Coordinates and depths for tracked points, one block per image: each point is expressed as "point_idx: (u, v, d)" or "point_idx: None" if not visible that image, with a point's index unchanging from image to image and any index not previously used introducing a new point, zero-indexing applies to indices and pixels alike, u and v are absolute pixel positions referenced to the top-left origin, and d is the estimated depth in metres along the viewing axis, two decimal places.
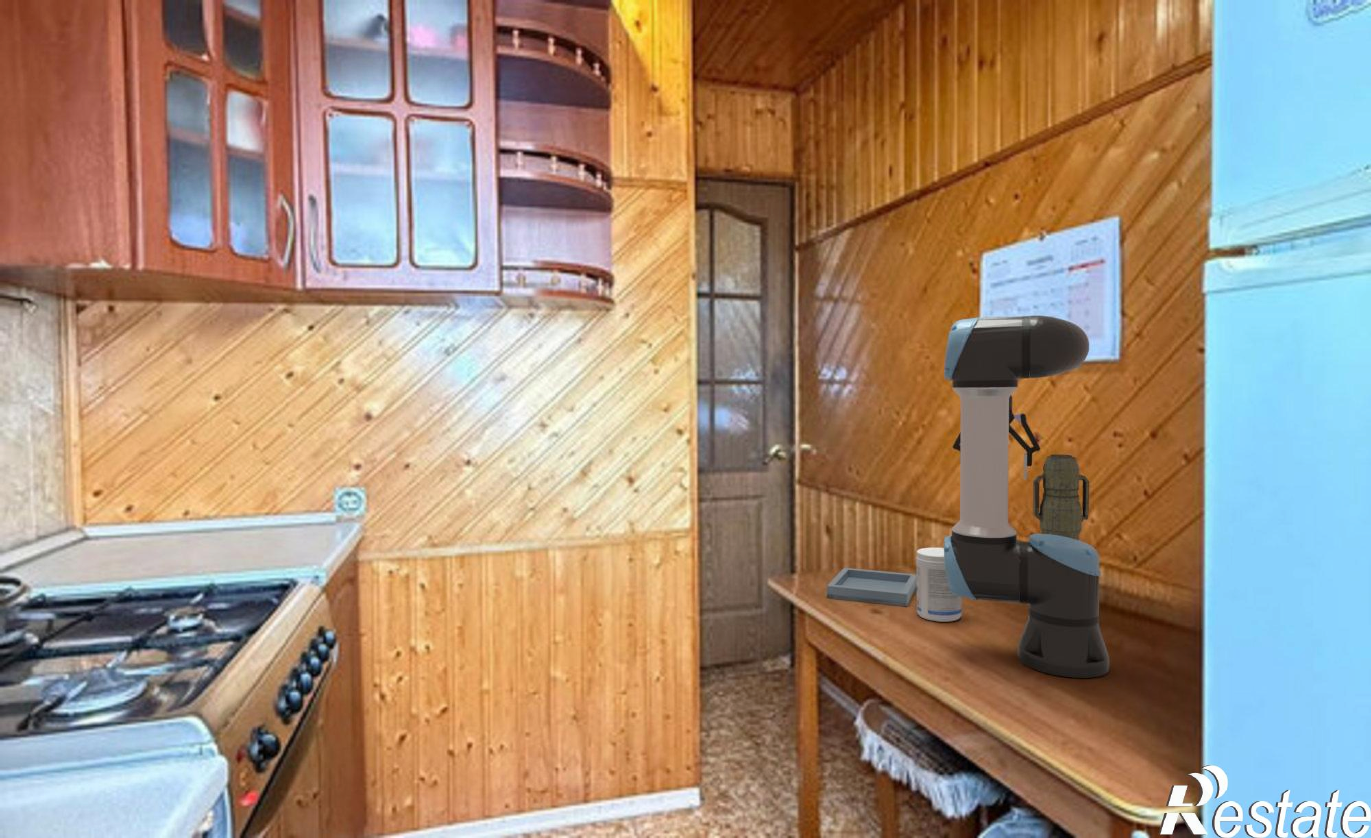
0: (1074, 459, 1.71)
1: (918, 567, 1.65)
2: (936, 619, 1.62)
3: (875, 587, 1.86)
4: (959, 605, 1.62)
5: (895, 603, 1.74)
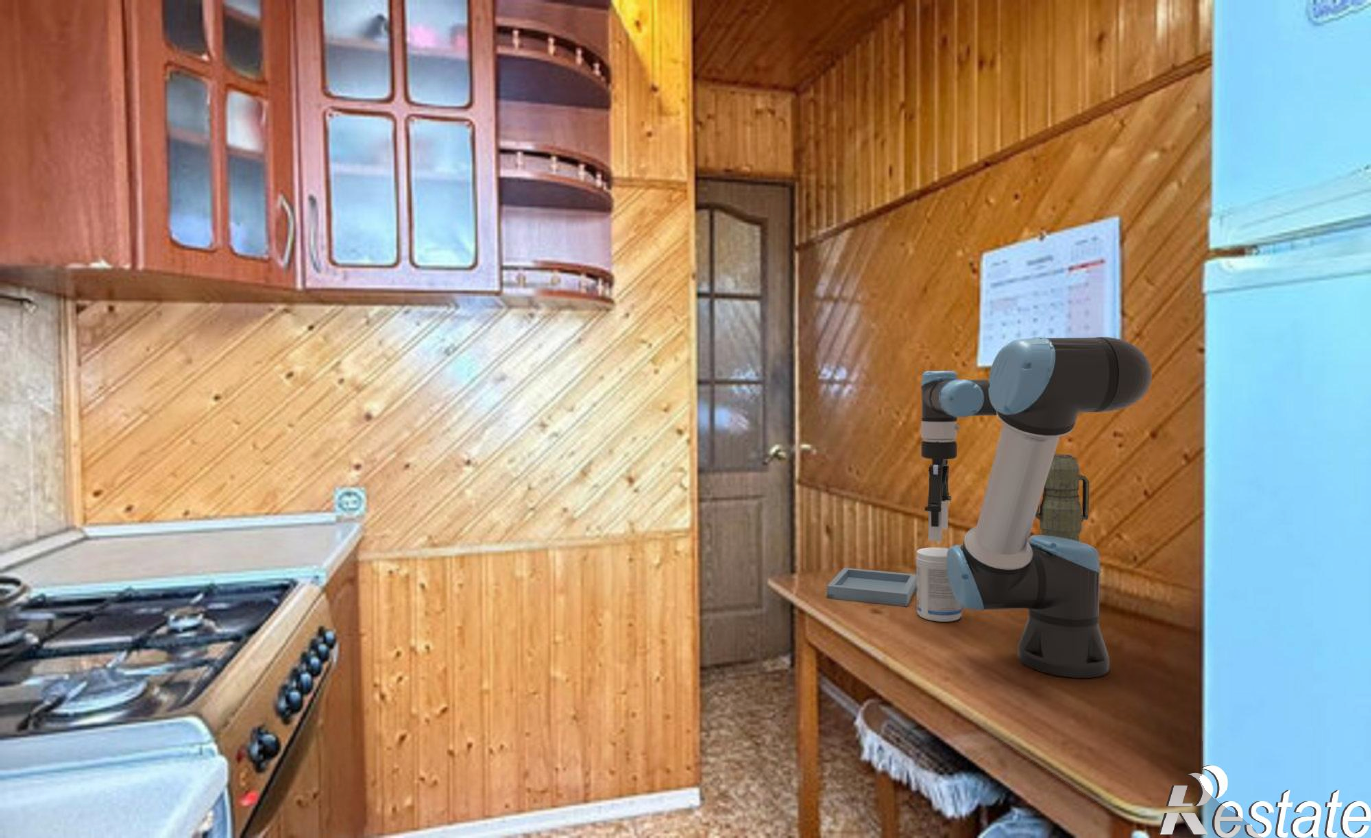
0: (1074, 459, 1.71)
1: (918, 567, 1.65)
2: (936, 619, 1.62)
3: (875, 587, 1.86)
4: (959, 605, 1.62)
5: (895, 603, 1.74)
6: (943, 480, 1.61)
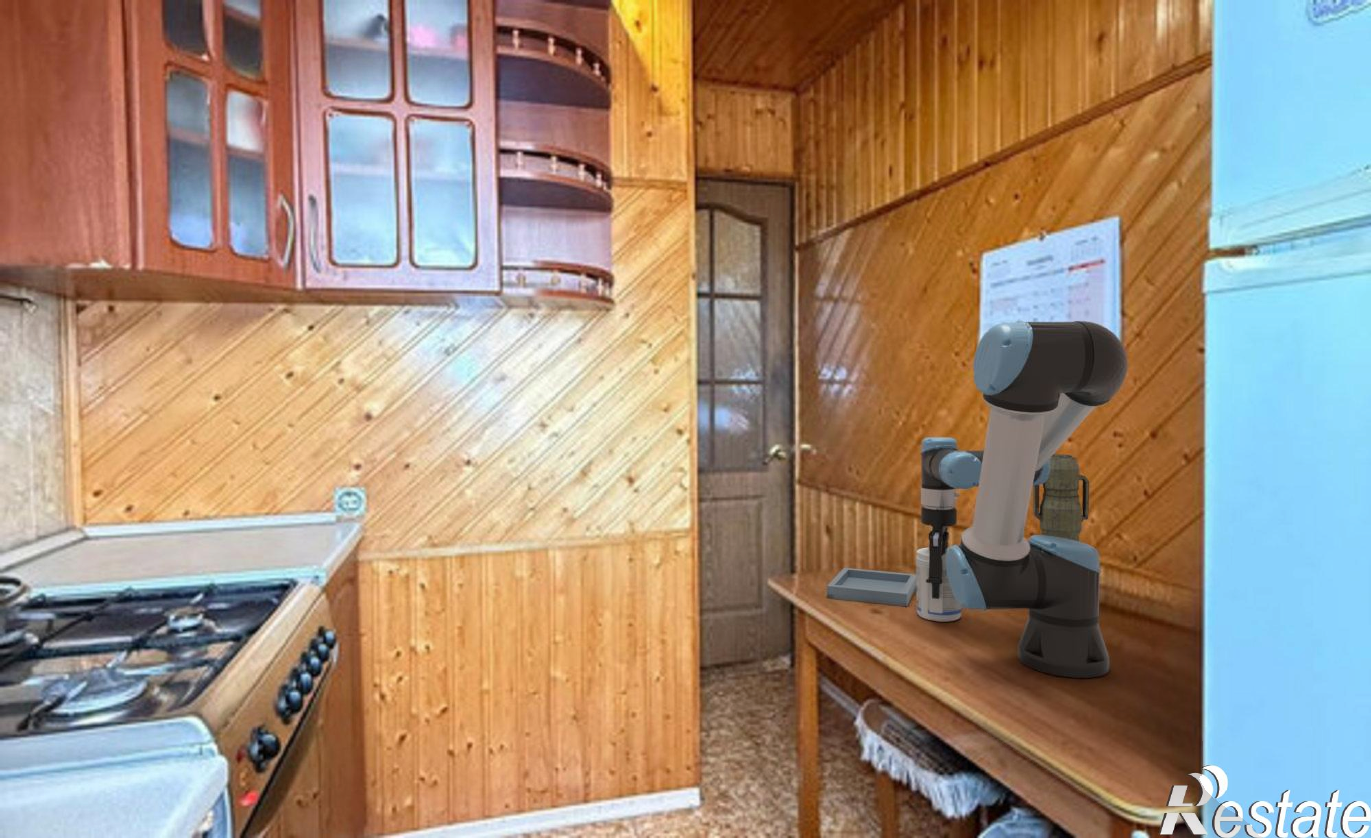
0: (1074, 459, 1.71)
1: (918, 567, 1.65)
2: (936, 619, 1.62)
3: (875, 587, 1.86)
4: (959, 605, 1.62)
5: (895, 603, 1.74)
6: (943, 549, 1.62)
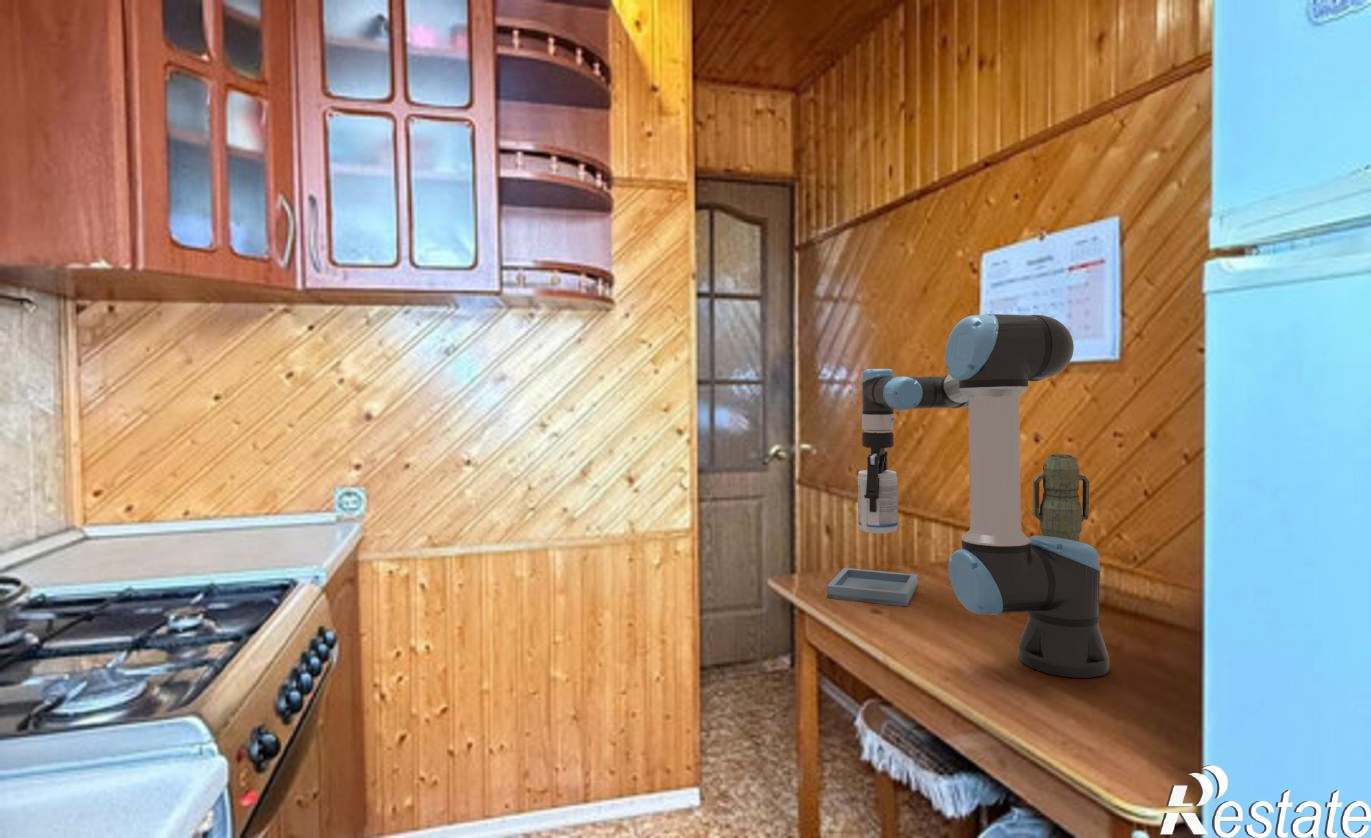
0: (1074, 459, 1.71)
1: (859, 485, 1.83)
2: (874, 531, 1.80)
3: (875, 587, 1.86)
4: (895, 519, 1.80)
5: (895, 603, 1.74)
6: (880, 468, 1.79)
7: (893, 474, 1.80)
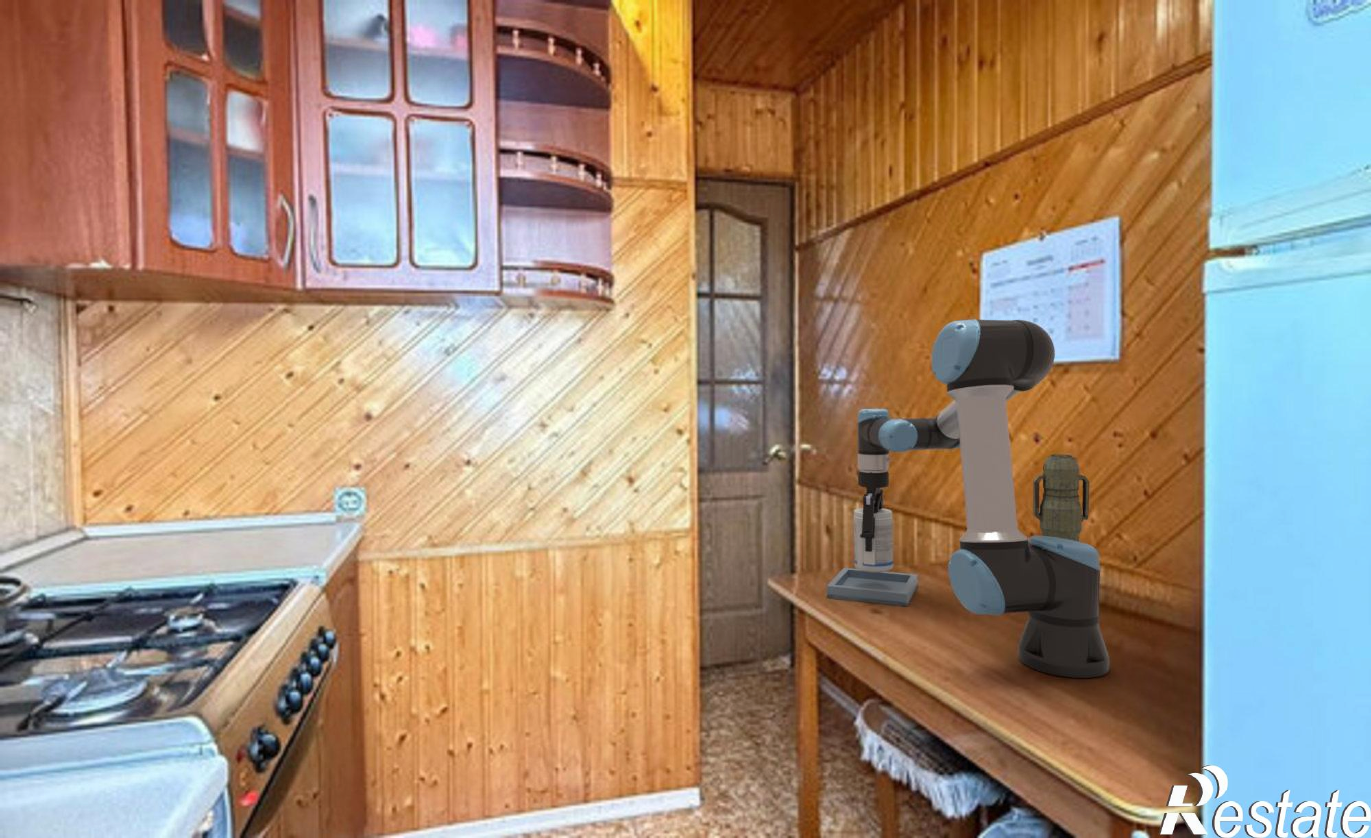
0: (1074, 459, 1.71)
1: (855, 524, 1.84)
2: (869, 570, 1.81)
3: (875, 587, 1.86)
4: (890, 558, 1.82)
5: (895, 603, 1.74)
6: (876, 508, 1.81)
7: (888, 513, 1.82)
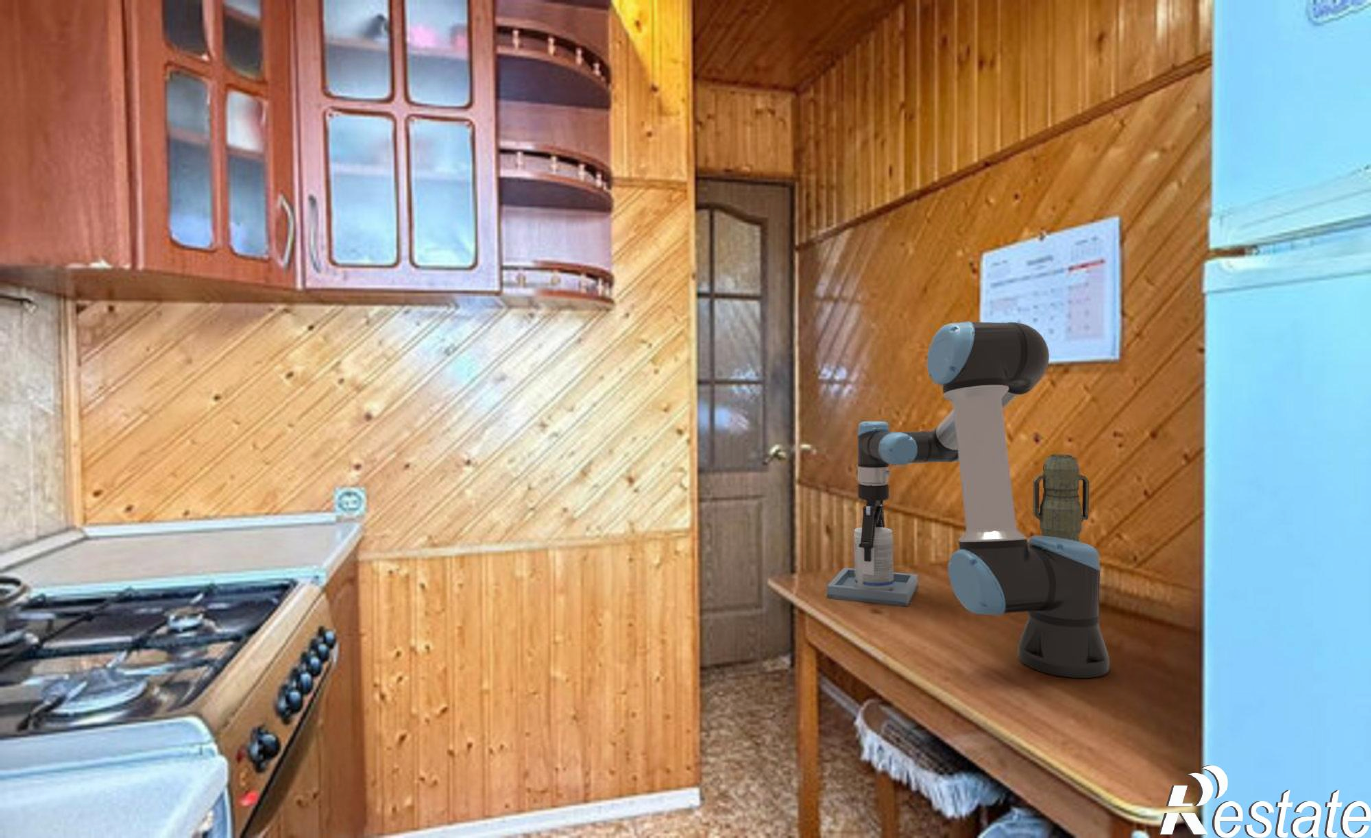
0: (1074, 459, 1.71)
1: (855, 543, 1.85)
2: None
3: None
4: (891, 577, 1.82)
5: (895, 603, 1.74)
6: (876, 519, 1.81)
7: (889, 533, 1.82)
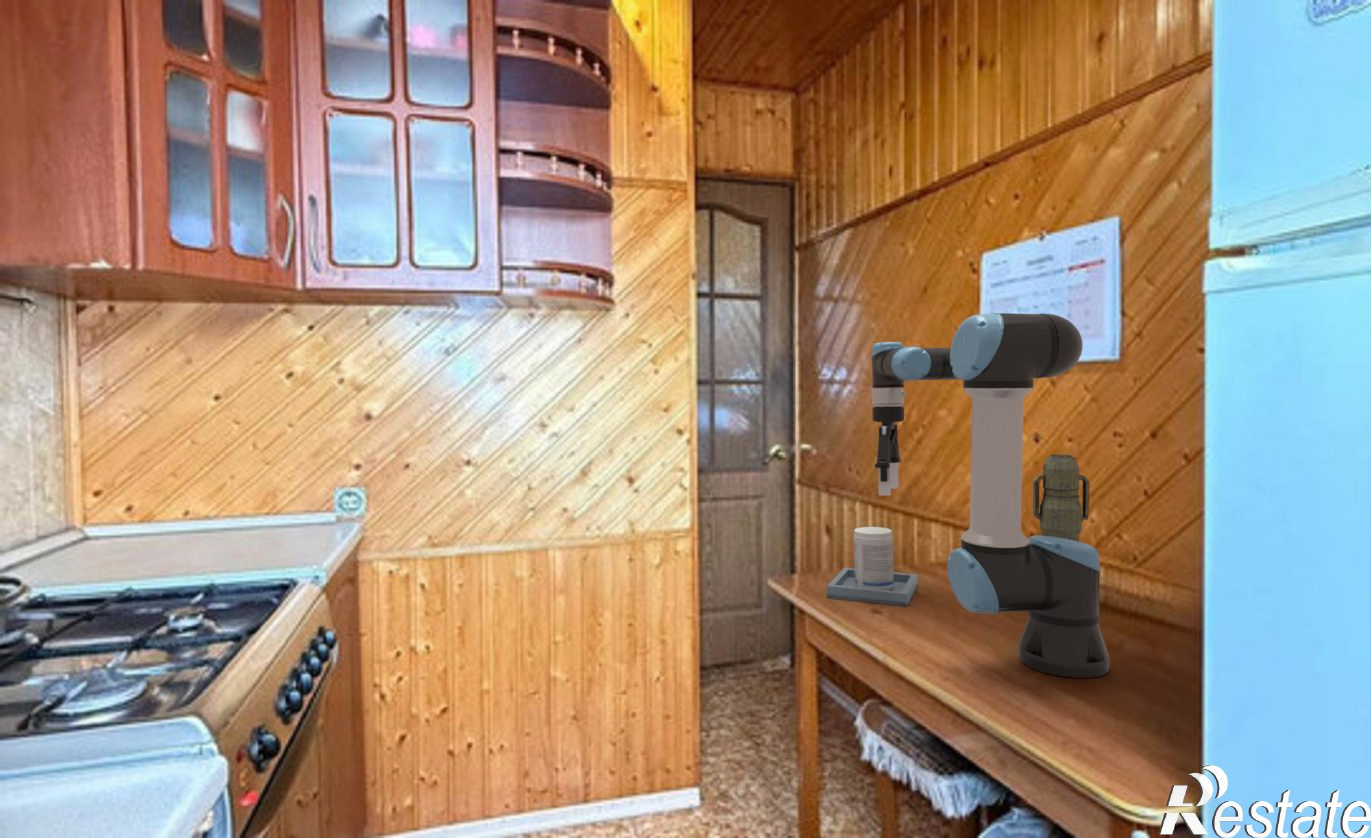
0: (1074, 459, 1.71)
1: (855, 544, 1.84)
2: None
3: None
4: (891, 577, 1.82)
5: (895, 603, 1.74)
6: (891, 440, 1.78)
7: (888, 533, 1.82)
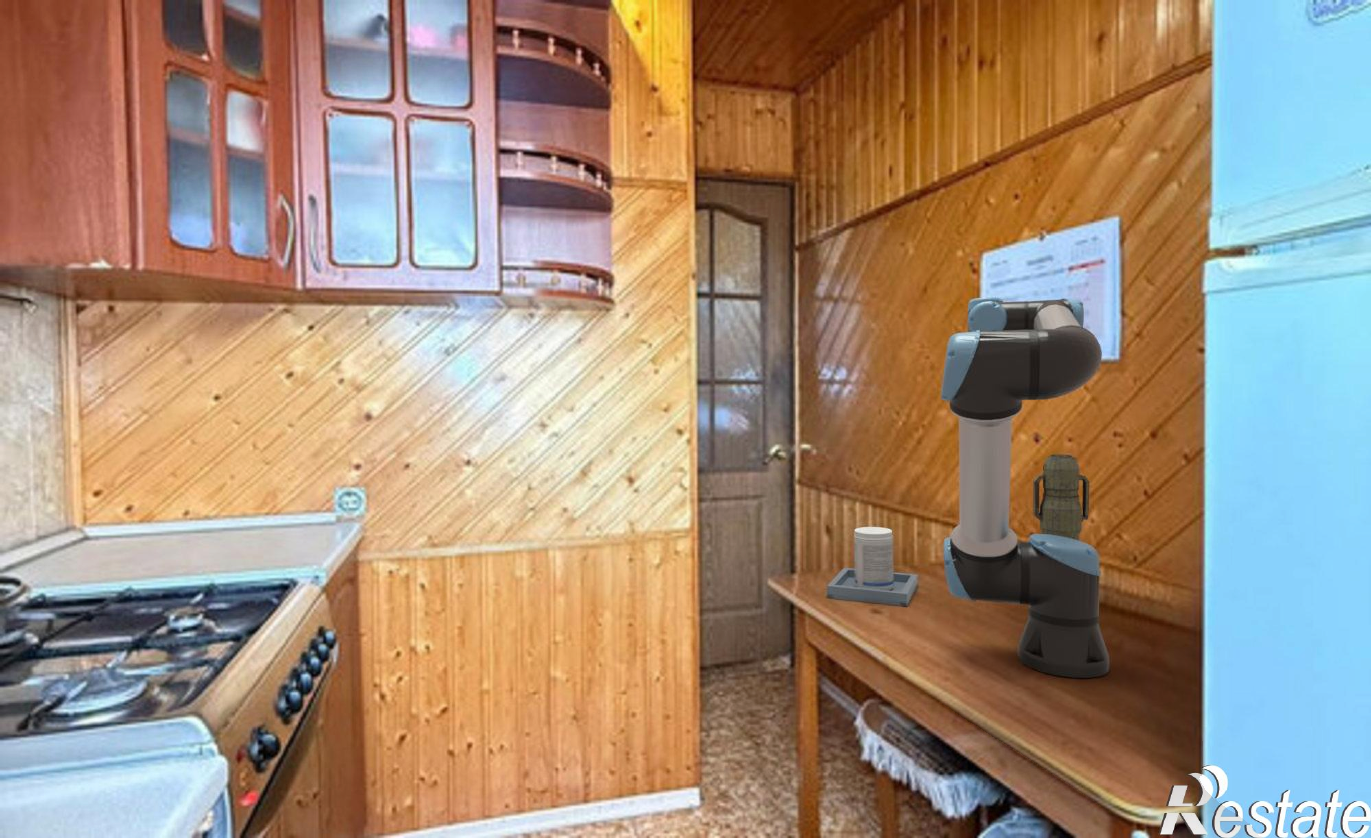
0: (1074, 459, 1.71)
1: (855, 544, 1.84)
2: None
3: None
4: (891, 577, 1.82)
5: (895, 603, 1.74)
6: None
7: (889, 533, 1.82)
